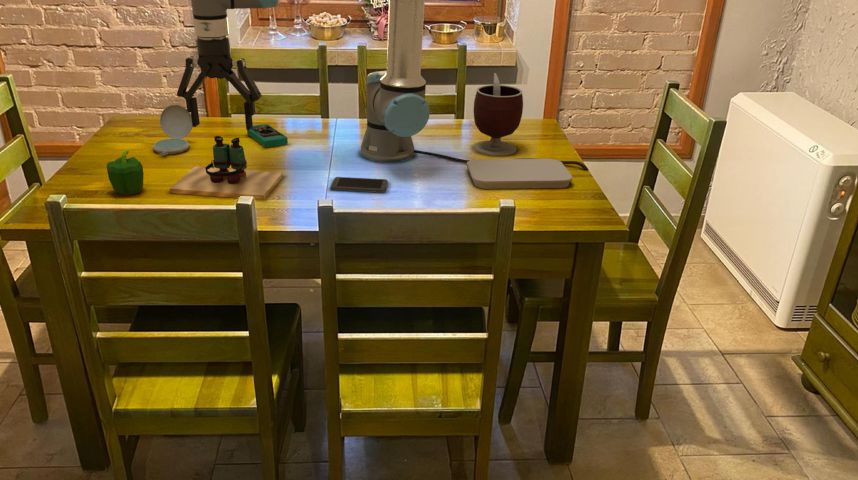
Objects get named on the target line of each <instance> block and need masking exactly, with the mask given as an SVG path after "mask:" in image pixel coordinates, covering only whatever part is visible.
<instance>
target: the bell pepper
mask: <svg viewBox="0 0 858 480" xmlns="http://www.w3.org/2000/svg"><path fill="white" fill-rule="evenodd" d="M129 153H130V151H129V150H128V149H124V150H123V151H122V154H121V156H120V157H118V158H117V159H115V160H112V161H108V162H107V164H106V173H107V176H108V180H109V182H110V184H111V187H112V188H113V190H114V192H115V193H117V194H118V195H128V194H129V195H136V194H138V193H140V192H141V191H142V190H143V188H144V175H145V174H144V173H145V172H144V168H143V164H142V163H141V161H139V160H138V159H137V158H136V157H135V156H132V157H128V158H127V155H129Z"/></svg>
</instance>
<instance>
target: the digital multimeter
mask: <svg viewBox="0 0 858 480" xmlns="http://www.w3.org/2000/svg"><path fill="white" fill-rule="evenodd" d="M246 134H247V135H248V136H249V137H250V138H251V139H253V140H254V141H256V142H257V143H259V144H260V146H262V147H264V148H265V149H269V148H276V147H282V146H286V145H288V143H289V141H288V136H286V135H285V134H283V133H281V132H280V131H279V130H277V129H275V128H274V127H273V126H272V125H270V124H268V123H263V124H255V125H254V124H253V127H252V128H251V129H250V130H246Z"/></svg>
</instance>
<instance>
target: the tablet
mask: <svg viewBox="0 0 858 480" xmlns="http://www.w3.org/2000/svg"><path fill="white" fill-rule="evenodd" d="M469 160H470V161H468V162H467V163H466V167H467V171H468V173H469V175H470V178H471V180H472V182H473V185H474V186H475V187H476V188H478V189H483V190H485V189H486V190H487V189H488V190H489V189H490V190H491V189H492V190H493V189H499V190H500V189H563V188H568V187H569V184H570V182H572V181H573V175H572V174H571V172H570V170H568V168H567V167H566V166H565V164H563V163H562V162H560V161H561V160H558V159H554V158H537V159H517V158H489V159H488V158H487V159H486V158H485V159H483V158H481V159H480V158H479V159H469Z"/></svg>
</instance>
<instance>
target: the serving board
mask: <svg viewBox="0 0 858 480" xmlns="http://www.w3.org/2000/svg"><path fill="white" fill-rule="evenodd" d="M205 167H206V166H196V165H195V166H193V168H191V169H189V171H188V172H187V173H186V174H184V175H183V176H182V177H181V178H180V179H178V180H177V181H176V182H175V183H174V184H173V185H172V186H171V187H170V188H169V194H176V195H177V194H178V195H192V196H207V197H218V198H219V197H220V198H233V199H239V198H238V197H240V196H253V197H254V198H255V199H254V200H259V201H264V200H265V199H266V198H267V197H268V196H269V195H270V193H271V192H272V191H273V189H274V188H275V187H276V186H277V185H278V184H279V182H280V181H281V179H282V178H283V177H284V174H283V172H281V171H279V172H278V171H268V170H267V171H265V170H254V169H252V170H251V169H245V170H244V171H245V172H246V176H244V177H240V179H241V180H240V181H239V182H238V183H235V184H229V183H228V181H227V177H228V176H225V177H223V181H222V182H219V183H214V182H212V181H211V180H210V175H208V174H207V173H206V169H205ZM227 169H228V170H229V172H232V171H235V169H232V168H227ZM219 170H220V168H215V167H214V168H212V167H211V168H210V169H208V171H209V172H217V171H219Z"/></svg>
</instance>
